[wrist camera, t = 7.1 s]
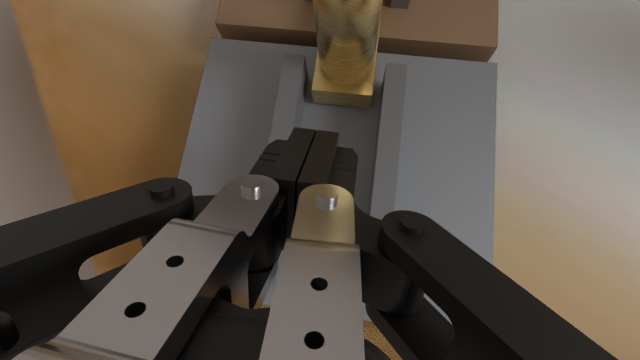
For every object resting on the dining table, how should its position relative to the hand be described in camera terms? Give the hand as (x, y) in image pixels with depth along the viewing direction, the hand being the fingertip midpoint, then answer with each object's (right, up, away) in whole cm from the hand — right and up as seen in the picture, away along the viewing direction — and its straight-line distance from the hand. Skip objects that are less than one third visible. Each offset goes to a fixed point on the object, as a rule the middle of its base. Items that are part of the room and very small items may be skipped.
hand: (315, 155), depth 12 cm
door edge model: (+2, +5, +11) cm, 12 cm away
